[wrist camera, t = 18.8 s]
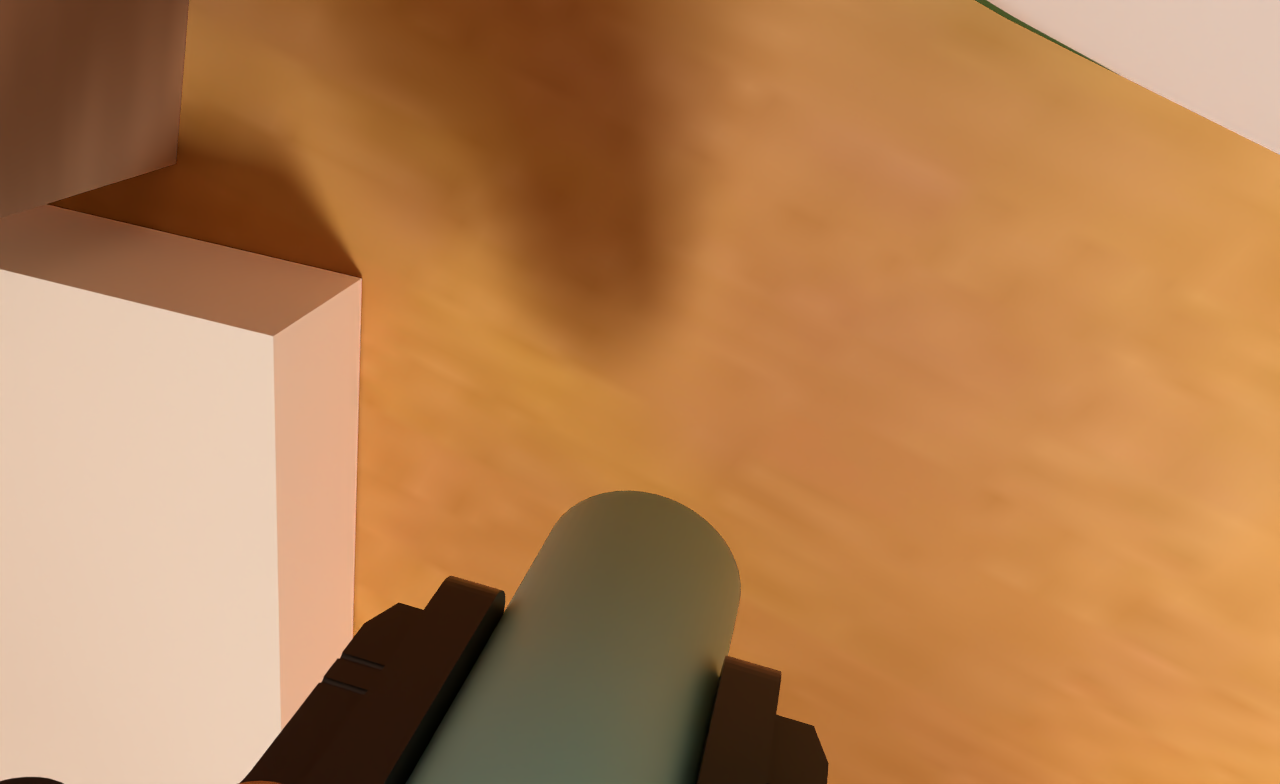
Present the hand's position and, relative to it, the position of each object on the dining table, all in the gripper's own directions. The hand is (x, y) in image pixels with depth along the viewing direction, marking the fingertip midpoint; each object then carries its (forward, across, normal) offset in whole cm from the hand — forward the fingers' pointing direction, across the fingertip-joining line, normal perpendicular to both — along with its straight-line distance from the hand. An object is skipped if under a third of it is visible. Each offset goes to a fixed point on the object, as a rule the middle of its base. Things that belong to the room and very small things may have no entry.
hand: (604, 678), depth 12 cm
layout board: (+6, -14, -6) cm, 16 cm away
